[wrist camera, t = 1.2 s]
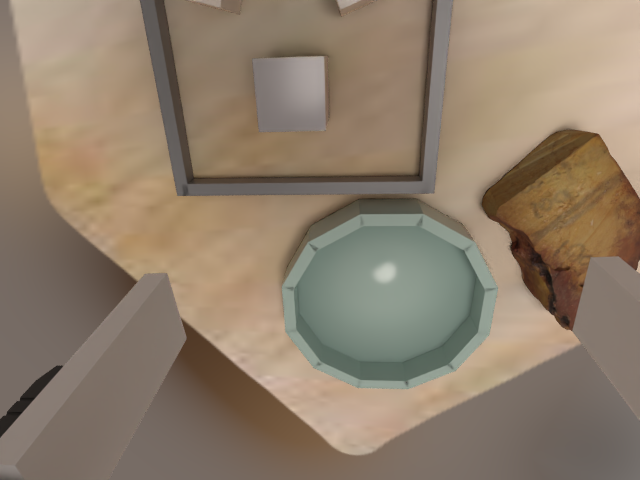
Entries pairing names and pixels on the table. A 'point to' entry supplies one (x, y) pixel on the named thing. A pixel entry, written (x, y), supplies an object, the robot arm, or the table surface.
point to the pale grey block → (351, 5)
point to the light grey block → (222, 4)
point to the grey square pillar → (292, 93)
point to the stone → (566, 216)
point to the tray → (296, 185)
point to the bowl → (388, 294)
